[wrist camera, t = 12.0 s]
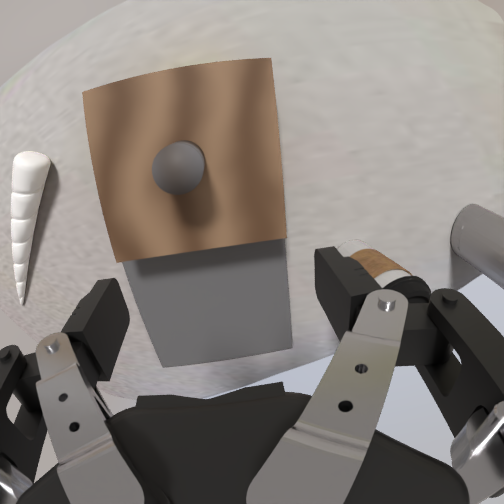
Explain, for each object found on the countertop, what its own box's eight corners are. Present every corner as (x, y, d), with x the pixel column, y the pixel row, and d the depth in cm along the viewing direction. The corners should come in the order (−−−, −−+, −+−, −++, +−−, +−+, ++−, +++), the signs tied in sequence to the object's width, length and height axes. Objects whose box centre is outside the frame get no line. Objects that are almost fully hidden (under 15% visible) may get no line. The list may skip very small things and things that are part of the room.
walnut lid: (269, 59, 24) (283, 45, 18) (284, 235, 31) (299, 259, 26) (85, 92, 22) (58, 88, 17) (118, 259, 30) (102, 286, 25)
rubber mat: (282, 220, 35) (283, 221, 35) (291, 346, 44) (292, 347, 43) (119, 248, 34) (118, 249, 34) (163, 365, 42) (162, 367, 42)
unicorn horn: (5, 293, 34) (-9, 310, 30) (31, 146, 27) (9, 151, 23) (28, 306, 36) (14, 324, 31) (58, 158, 29) (38, 164, 24)
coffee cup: (334, 297, 41) (380, 371, 27) (312, 249, 37) (364, 320, 24) (383, 268, 40) (444, 331, 26) (368, 219, 36) (440, 273, 23)
